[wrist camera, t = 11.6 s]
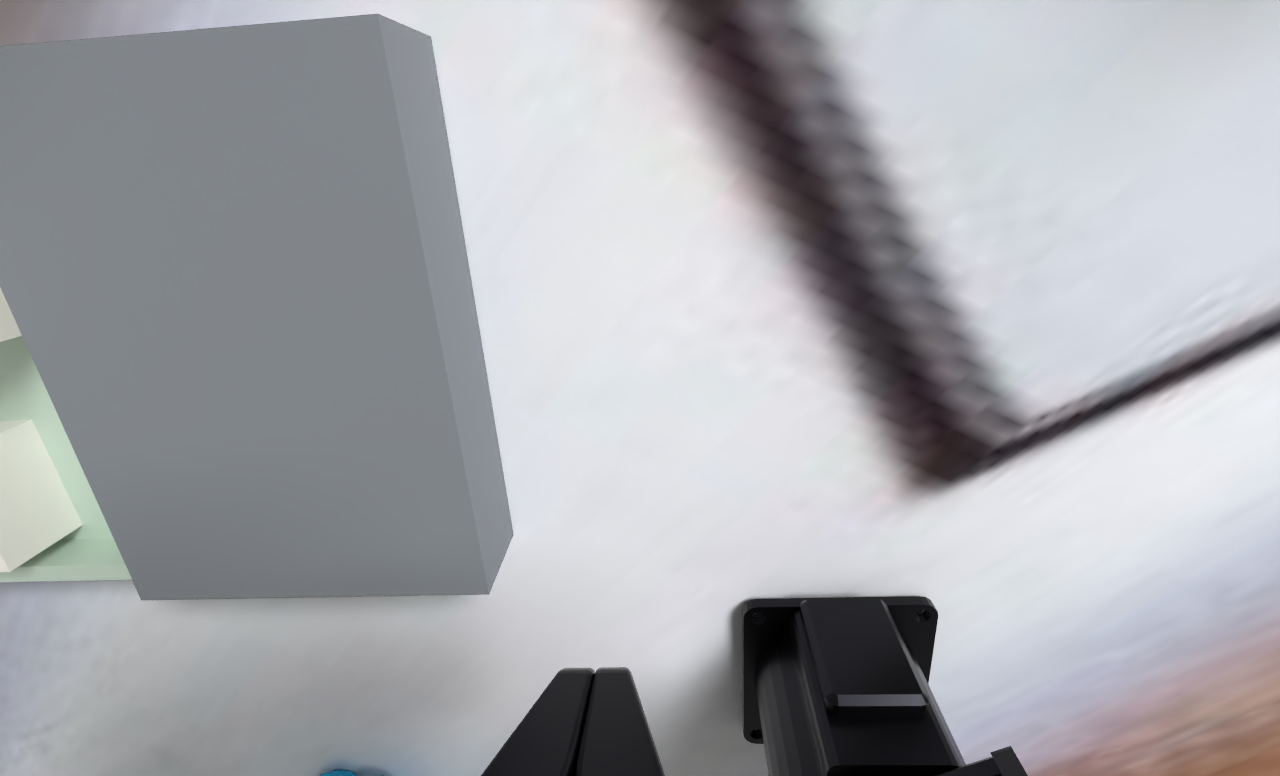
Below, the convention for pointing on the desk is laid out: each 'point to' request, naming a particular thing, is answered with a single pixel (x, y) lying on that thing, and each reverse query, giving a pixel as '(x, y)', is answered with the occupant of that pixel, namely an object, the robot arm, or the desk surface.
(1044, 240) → the desk surface
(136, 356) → the gray rectangular block
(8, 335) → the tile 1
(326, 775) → the blue green toy structure
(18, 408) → the box
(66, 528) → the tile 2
